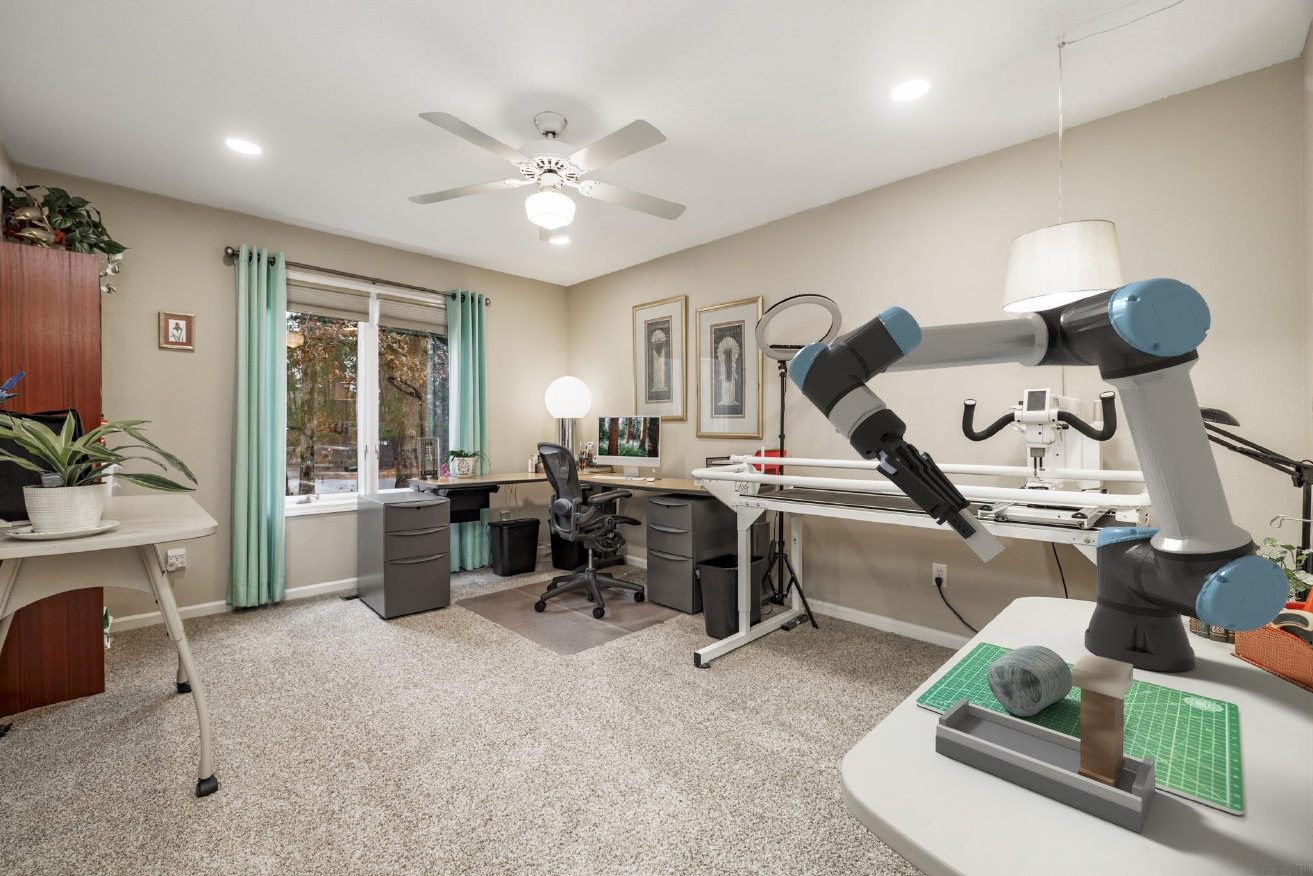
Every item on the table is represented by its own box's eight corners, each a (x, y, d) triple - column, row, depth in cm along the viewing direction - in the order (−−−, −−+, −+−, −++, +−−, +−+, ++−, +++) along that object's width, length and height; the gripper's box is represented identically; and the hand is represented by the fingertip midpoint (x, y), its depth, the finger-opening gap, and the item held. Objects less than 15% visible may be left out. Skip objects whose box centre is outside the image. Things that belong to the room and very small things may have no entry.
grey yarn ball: (1046, 713, 76) (1021, 634, 81) (981, 718, 83) (962, 645, 88) (1103, 716, 81) (1077, 642, 86) (1037, 720, 89) (1017, 652, 94)
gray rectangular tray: (935, 751, 73) (935, 720, 73) (965, 723, 79) (965, 695, 79) (1140, 833, 58) (1140, 794, 58) (1155, 790, 65) (1155, 755, 64)
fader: (1070, 776, 63) (1071, 669, 63) (1085, 752, 68) (1085, 651, 68) (1120, 795, 60) (1121, 681, 60) (1132, 768, 65) (1133, 663, 65)
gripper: (872, 441, 90) (989, 564, 78) (828, 444, 82) (953, 582, 70) (905, 406, 86) (1034, 530, 74) (863, 405, 78) (1001, 545, 66)
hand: (995, 555), depth 72 cm, fingers closed
